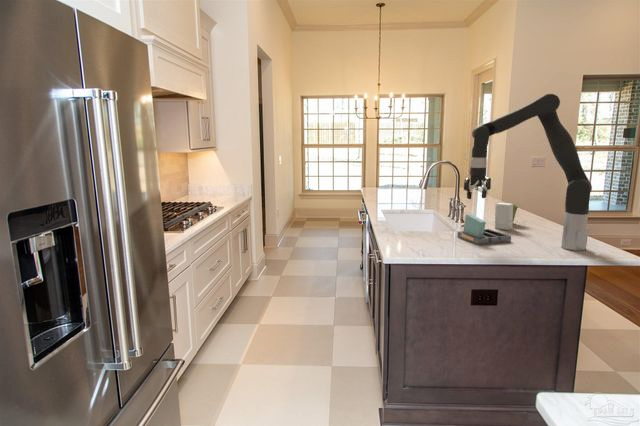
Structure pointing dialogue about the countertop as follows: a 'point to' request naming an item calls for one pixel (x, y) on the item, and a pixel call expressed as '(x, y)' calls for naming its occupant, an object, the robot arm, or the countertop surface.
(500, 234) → the rack
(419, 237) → the countertop surface
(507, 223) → the skincare box
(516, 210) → the plant pot
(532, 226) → the countertop surface
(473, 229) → the panel
